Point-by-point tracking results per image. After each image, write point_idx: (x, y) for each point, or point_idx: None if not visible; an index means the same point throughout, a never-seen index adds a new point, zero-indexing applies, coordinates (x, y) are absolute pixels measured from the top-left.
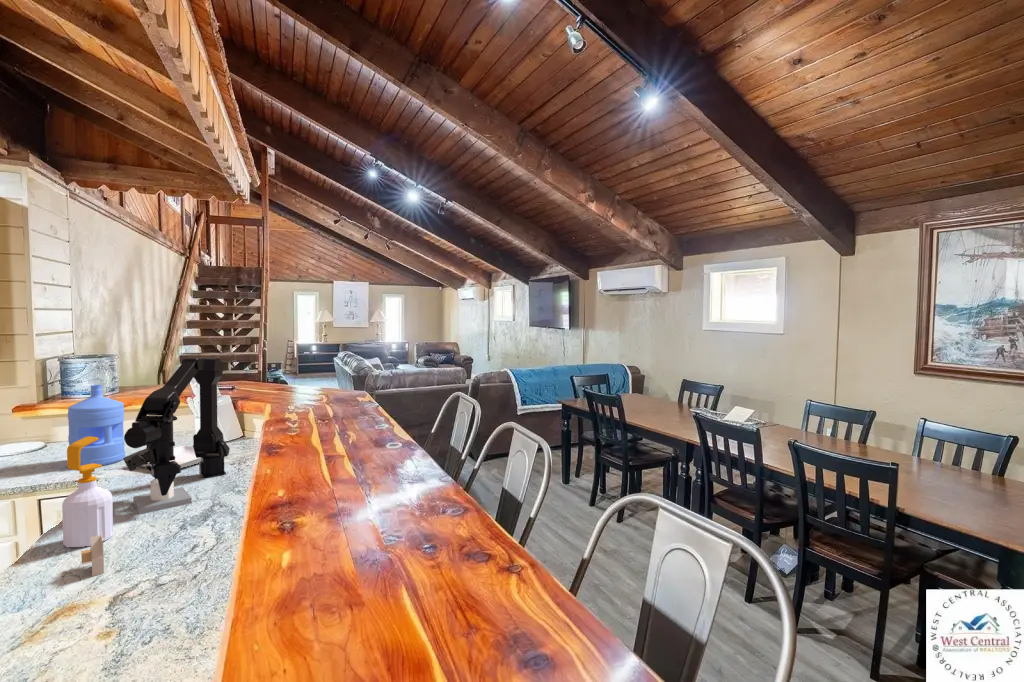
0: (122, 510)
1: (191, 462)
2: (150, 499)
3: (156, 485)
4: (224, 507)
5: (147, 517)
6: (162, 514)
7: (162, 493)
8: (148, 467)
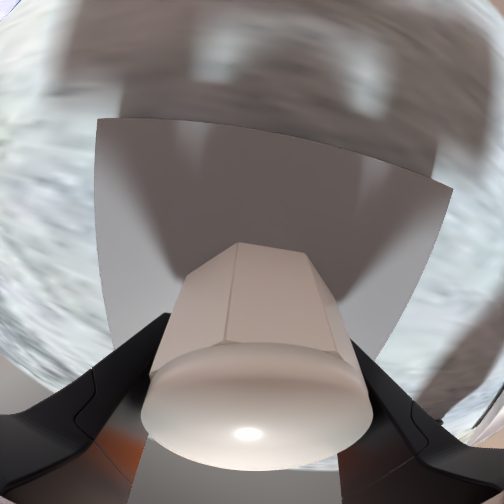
0: (310, 56)
1: (495, 410)
2: (274, 242)
3: (163, 367)
4: (39, 368)
5: (43, 149)
6: (43, 219)
7: (151, 326)
8: (502, 487)
